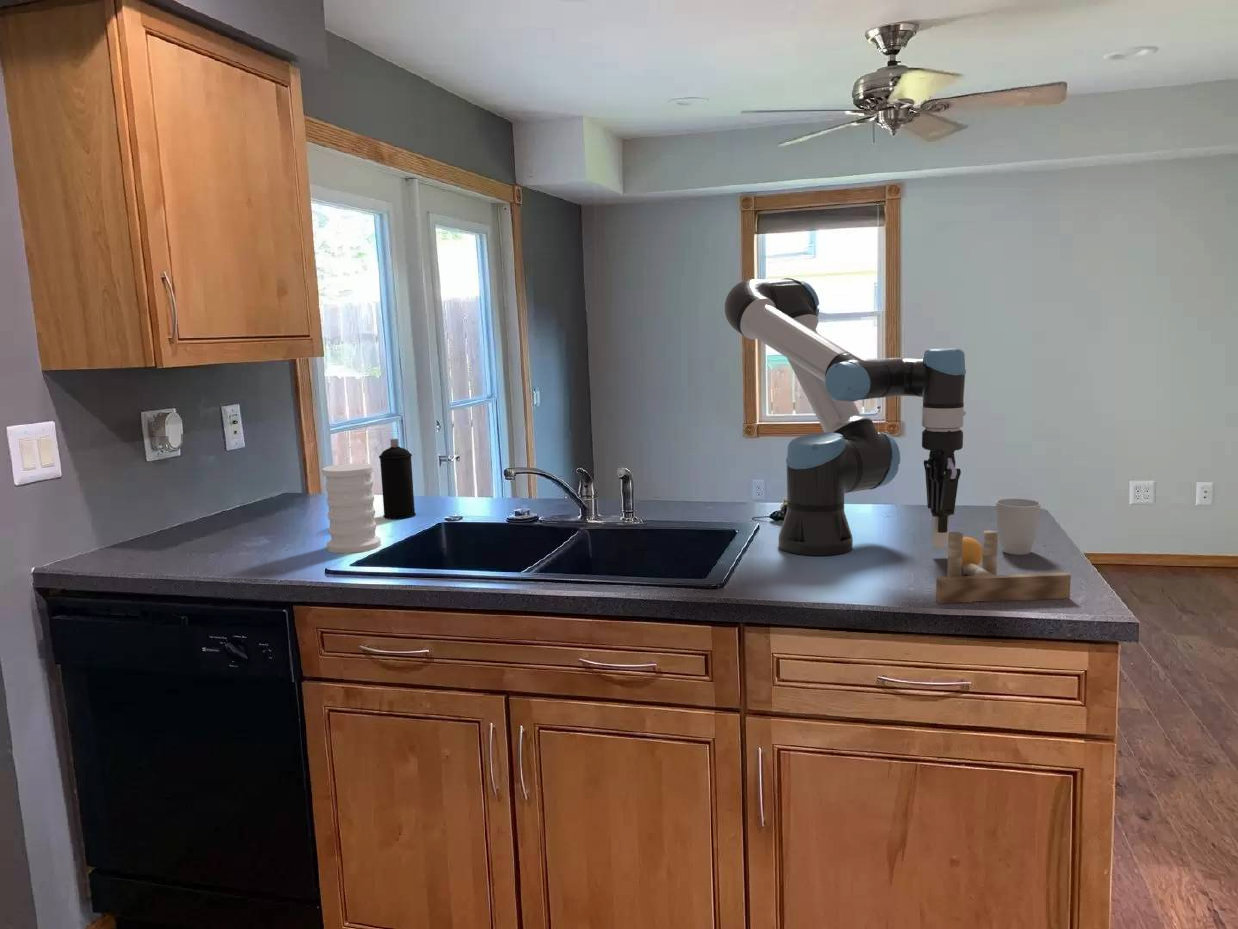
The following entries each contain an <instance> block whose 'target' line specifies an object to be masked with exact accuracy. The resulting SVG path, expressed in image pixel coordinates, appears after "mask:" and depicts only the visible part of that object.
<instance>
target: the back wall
mask: <svg viewBox="0 0 1238 929" xmlns="http://www.w3.org/2000/svg"><path fill="white" fill-rule="evenodd" d="M1071 578H1072V575H1071V574H1070V573H1069V572H1047V573H1046V572H1043V573H1042V572H1041V573H1040V572H1039V573H1019V574H996V575H987V576H968V575H967V576H962V575H961V577H947V576H943V577H941V576H940V577H939V576H938V577H936V580H935V581H936V583H935V584H936V586H935V588H936V590H935V601H936V602H937V603H938V604H955V603H956V604H957V603H958V602H959V603H960V602H961V603H981V602H982V601H986V602H1004V601H1005V602H1009V601H1028V600H1029V601H1031V600H1032V601H1033V600H1034V601H1035V600H1057V599H1058V600H1060V599H1063V600H1064V599H1070V597H1071V581H1072V580H1071ZM973 601H975V602H973ZM976 601H978V602H976ZM979 601H981V602H979ZM961 603H960V604H961Z"/></svg>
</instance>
